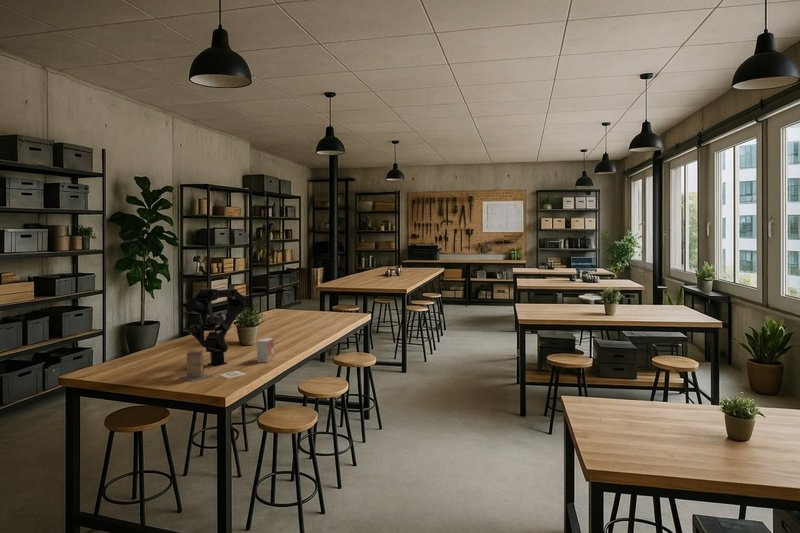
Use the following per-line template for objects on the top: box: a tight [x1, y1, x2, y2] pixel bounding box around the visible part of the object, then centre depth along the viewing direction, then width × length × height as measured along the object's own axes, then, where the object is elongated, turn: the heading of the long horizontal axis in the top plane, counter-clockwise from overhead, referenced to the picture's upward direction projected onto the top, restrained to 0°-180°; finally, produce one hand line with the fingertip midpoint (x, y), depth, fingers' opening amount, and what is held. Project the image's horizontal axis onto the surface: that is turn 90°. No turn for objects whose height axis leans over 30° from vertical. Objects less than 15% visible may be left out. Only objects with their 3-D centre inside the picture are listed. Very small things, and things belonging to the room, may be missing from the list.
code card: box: [218, 370, 247, 379], centre depth 232 cm, size 9×9×1 cm
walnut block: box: [186, 349, 205, 378], centre depth 227 cm, size 6×6×11 cm
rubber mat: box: [178, 372, 214, 383], centre depth 227 cm, size 10×10×1 cm
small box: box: [256, 337, 275, 363], centre depth 257 cm, size 8×6×10 cm
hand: (213, 346), depth 237 cm, fingers open, 9 cm apart
